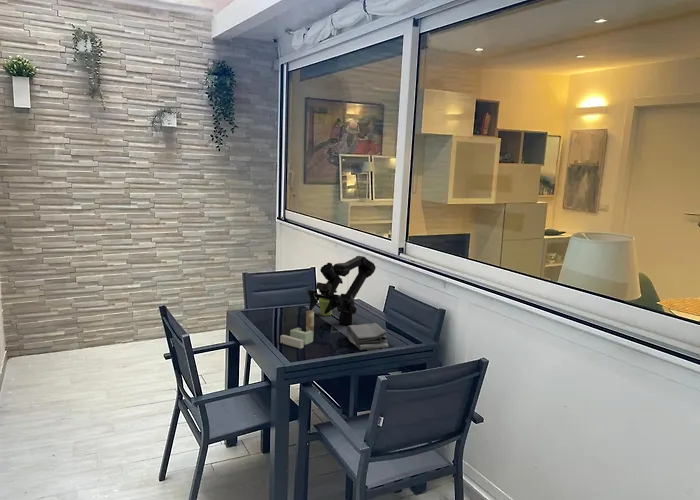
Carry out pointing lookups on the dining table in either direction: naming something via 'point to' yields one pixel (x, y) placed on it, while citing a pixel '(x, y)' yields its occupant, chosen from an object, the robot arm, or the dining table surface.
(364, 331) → the towel
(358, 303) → the dining table surface
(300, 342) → the kerb
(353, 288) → the robot arm
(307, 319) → the dowel
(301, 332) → the block
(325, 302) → the plant pot
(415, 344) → the dining table surface
